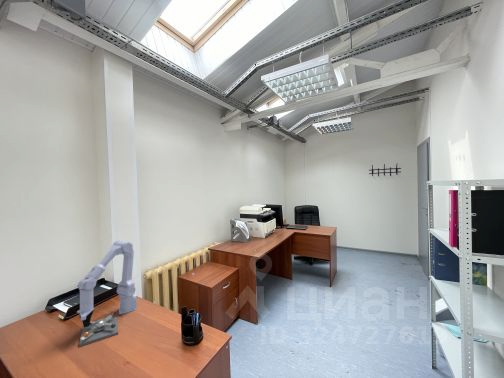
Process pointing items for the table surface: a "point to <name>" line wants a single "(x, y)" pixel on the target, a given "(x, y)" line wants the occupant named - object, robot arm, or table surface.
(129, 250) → the robot arm
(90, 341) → the stand plate
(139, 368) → the table surface
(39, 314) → the table surface
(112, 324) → the silver metal piece
